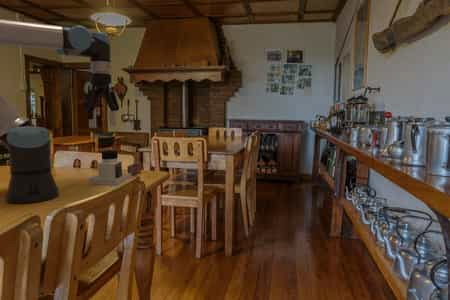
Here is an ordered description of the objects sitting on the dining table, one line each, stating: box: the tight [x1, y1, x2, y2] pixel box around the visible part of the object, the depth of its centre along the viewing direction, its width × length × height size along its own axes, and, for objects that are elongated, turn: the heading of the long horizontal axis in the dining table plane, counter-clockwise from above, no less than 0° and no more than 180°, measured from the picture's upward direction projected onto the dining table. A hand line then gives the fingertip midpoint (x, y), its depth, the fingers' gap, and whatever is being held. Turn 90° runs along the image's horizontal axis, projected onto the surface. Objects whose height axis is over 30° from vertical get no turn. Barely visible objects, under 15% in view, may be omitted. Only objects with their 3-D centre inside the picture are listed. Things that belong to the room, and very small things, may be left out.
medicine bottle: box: [97, 149, 123, 179], centre depth 132 cm, size 7×7×12 cm
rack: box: [127, 161, 142, 178], centre depth 146 cm, size 10×12×5 cm
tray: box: [88, 172, 132, 186], centre depth 133 cm, size 12×12×2 cm
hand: (103, 127), depth 132 cm, fingers open, 13 cm apart
